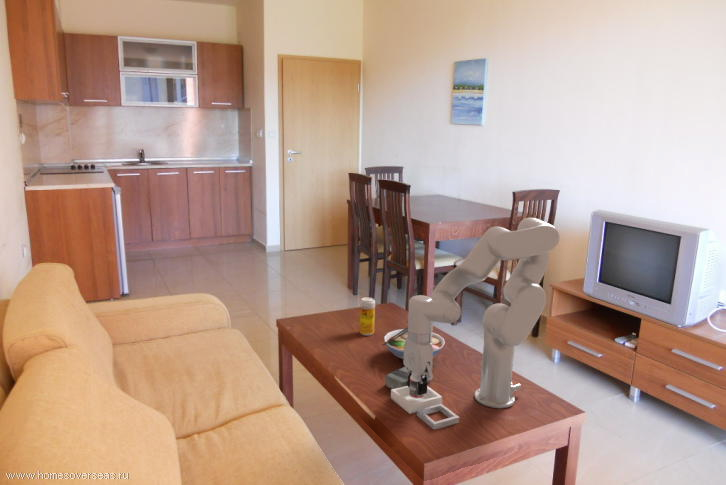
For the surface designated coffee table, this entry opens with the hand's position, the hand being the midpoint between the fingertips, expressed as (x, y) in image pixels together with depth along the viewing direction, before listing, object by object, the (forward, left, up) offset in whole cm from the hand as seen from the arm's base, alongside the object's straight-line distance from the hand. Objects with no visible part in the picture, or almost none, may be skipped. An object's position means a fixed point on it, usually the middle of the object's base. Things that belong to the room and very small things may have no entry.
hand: (417, 389), depth 174 cm
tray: (0, 0, -4) cm, 4 cm away
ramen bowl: (-18, -29, -4) cm, 34 cm away
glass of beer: (-14, -58, -4) cm, 59 cm away
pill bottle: (0, 0, -2) cm, 2 cm away
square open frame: (0, +11, -4) cm, 12 cm away
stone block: (-4, -12, -5) cm, 13 cm away
